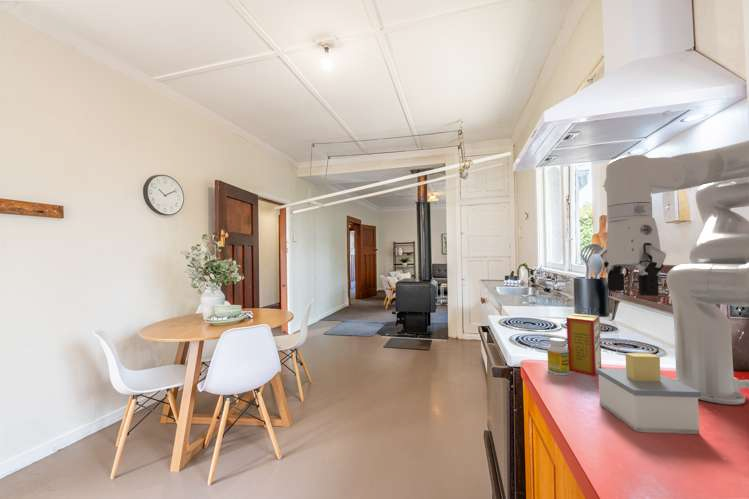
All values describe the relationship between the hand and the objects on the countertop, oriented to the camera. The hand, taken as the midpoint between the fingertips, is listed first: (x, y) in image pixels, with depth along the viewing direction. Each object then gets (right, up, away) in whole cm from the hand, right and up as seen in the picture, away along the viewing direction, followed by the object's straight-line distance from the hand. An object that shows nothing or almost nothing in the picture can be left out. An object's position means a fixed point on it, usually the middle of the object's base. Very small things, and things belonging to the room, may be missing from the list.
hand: (631, 292), depth 65 cm
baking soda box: (+8, -27, +25) cm, 38 cm away
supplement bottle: (-1, -27, +23) cm, 35 cm away
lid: (+1, -19, -2) cm, 19 cm away
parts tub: (+1, -26, -2) cm, 26 cm away
